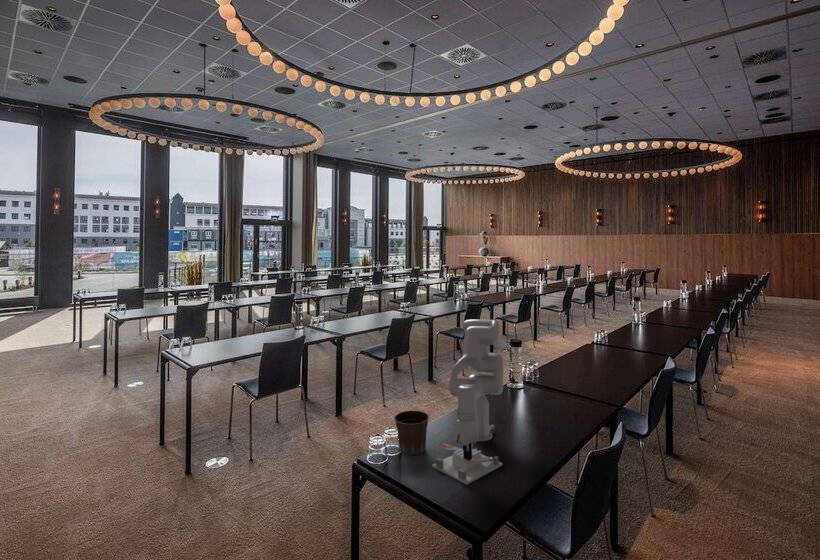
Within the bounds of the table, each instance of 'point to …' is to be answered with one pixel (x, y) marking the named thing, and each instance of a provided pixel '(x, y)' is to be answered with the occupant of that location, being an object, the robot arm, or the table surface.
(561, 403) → the table surface
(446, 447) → the strap
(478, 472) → the cooler board
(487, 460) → the strap
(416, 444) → the plant pot
